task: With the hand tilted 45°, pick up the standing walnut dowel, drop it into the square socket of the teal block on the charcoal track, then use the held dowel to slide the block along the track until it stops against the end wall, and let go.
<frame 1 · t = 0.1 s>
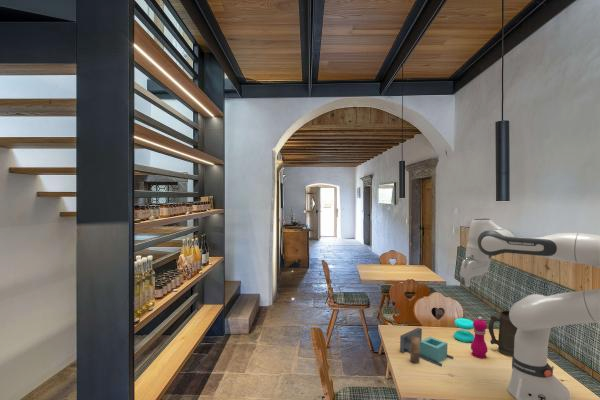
hand: (472, 284, 156), 39 cm above the table, tool pointing down, fingers open, 8 cm apart
dowel: (414, 363, 163), on the table
track: (427, 356, 170), on the table
beer stein: (505, 352, 176), on the table
donuts: (464, 339, 191), on the table
pepper mill: (478, 357, 171), on the table
socket block: (433, 349, 168), point 5 cm above the table, slide at 0.0 cm
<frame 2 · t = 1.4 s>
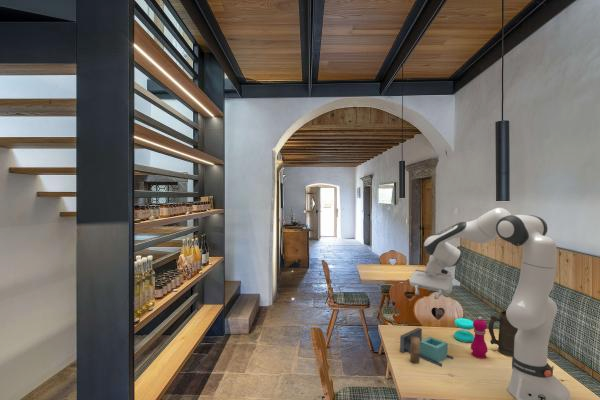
hand: (426, 296, 172), 29 cm above the table, tool tilted 45°, fingers open, 8 cm apart
nothing on the table moved.
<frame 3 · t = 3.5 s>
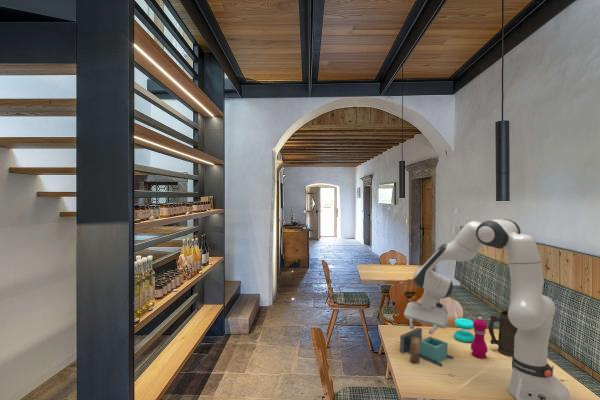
hand: (420, 330, 168), 13 cm above the table, tool tilted 45°, fingers open, 8 cm apart
nothing on the table moved.
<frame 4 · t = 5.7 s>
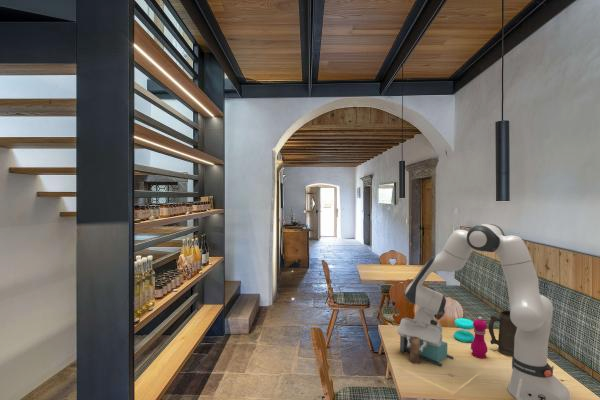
hand: (414, 349, 163), 7 cm above the table, tool tilted 45°, fingers closed on dowel, 4 cm apart
dowel: (414, 363, 163), on the table, touching gripper
everything else where it was.
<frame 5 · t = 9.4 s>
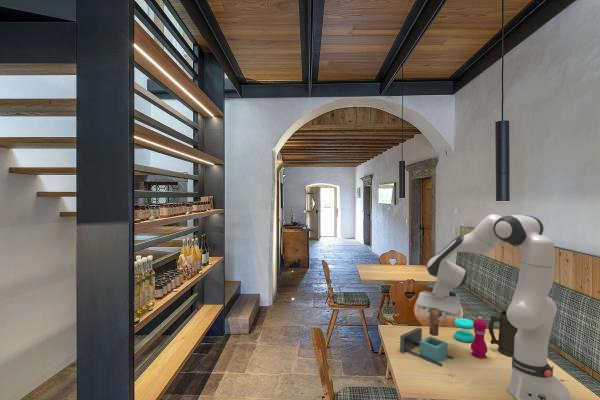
hand: (433, 319, 167), 19 cm above the table, tool tilted 45°, fingers closed on dowel, 4 cm apart
dowel: (433, 334, 168), point 12 cm above the table, touching gripper
everything else where it was.
when the fingers open (12 cm above the table, at t = 13.5 s): dowel stays where it is, resting on socket block.
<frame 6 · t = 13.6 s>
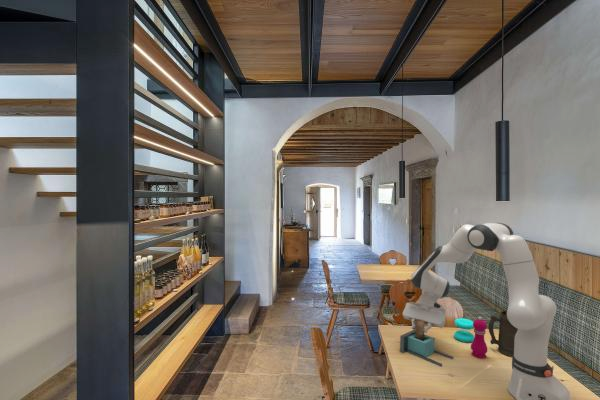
hand: (419, 330, 173), 12 cm above the table, tool tilted 45°, fingers open, 4 cm apart
dowel: (420, 345, 173), point 4 cm above the table, touching gripper, socket block
socket block: (421, 344, 173), point 5 cm above the table, slide at 6.5 cm, touching dowel, track
everything else where it was.
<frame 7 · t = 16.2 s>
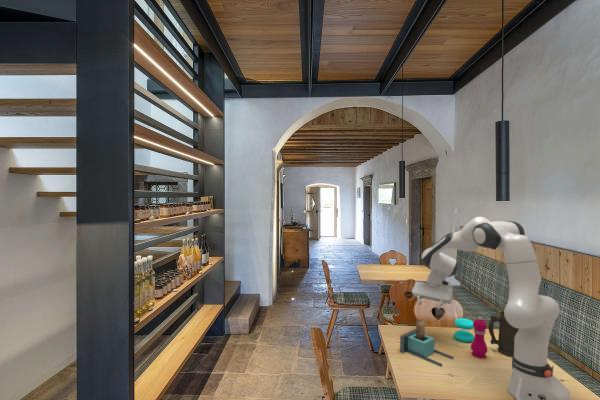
hand: (428, 306, 182), 20 cm above the table, tool tilted 45°, fingers open, 8 cm apart
dowel: (420, 345, 173), point 4 cm above the table, touching socket block
socket block: (421, 344, 173), point 5 cm above the table, slide at 6.5 cm, touching dowel
everything else where it was.
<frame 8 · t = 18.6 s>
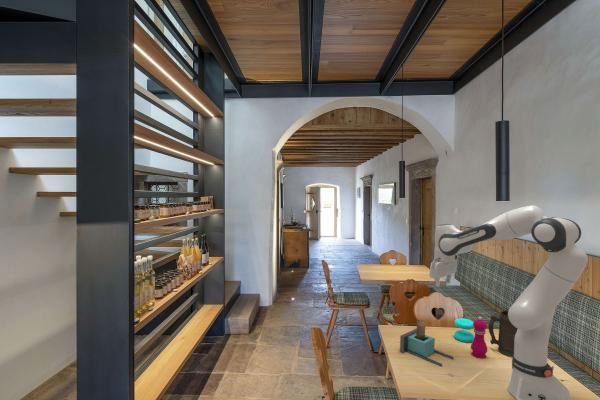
hand: (442, 284, 173), 34 cm above the table, tool pointing down, fingers open, 8 cm apart
nothing on the table moved.
at the end: socket block slide at 6.5 cm; dowel 0.4 cm from the target spot, point 4.1 cm above the table; dowel tilted 1° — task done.
